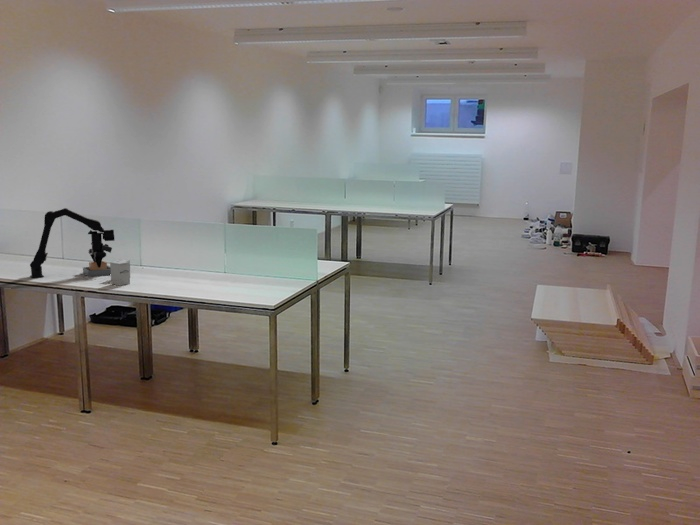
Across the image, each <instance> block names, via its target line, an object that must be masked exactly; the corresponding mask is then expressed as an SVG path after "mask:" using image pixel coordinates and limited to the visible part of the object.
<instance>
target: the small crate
mask: <svg viewBox="0 0 700 525" xmlns="http://www.w3.org/2000/svg"><path fill="white" fill-rule="evenodd" d="M107 265H108V262H107V261H103V260H102V262H101V266H100V267H98V266H97V263H96V262H94V261H90V262H88V267H89V270H91V271H93V270H104V269H107Z"/></svg>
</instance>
